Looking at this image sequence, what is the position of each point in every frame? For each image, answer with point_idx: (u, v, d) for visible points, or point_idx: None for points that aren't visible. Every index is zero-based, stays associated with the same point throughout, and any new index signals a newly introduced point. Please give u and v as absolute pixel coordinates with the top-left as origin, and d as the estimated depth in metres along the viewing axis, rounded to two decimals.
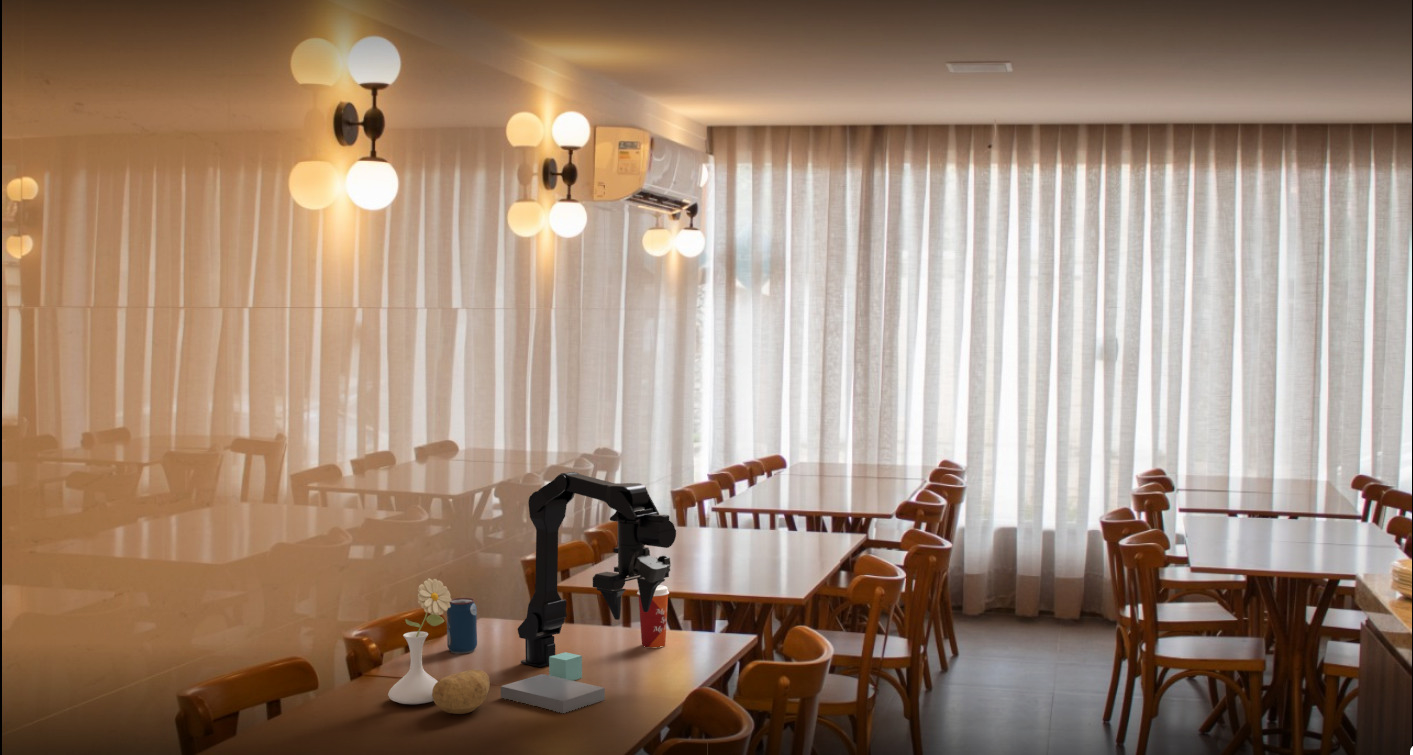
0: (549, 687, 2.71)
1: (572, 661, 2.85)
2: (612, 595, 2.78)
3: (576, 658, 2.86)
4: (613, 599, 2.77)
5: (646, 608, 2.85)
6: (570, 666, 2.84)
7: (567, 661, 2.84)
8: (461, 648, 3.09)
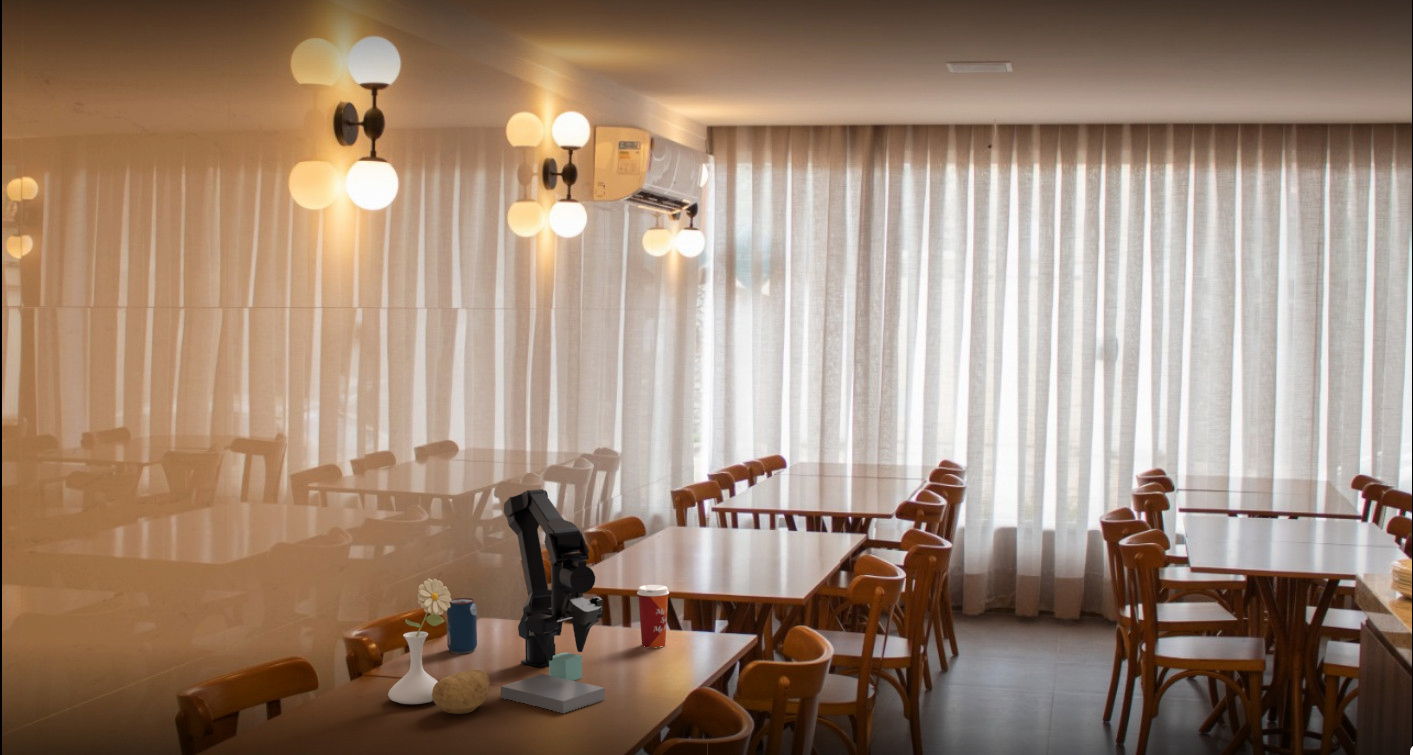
0: (549, 687, 2.71)
1: (572, 661, 2.85)
2: (545, 637, 2.82)
3: (576, 658, 2.86)
4: (546, 640, 2.82)
5: (580, 648, 2.90)
6: (570, 666, 2.84)
7: (567, 661, 2.84)
8: (461, 648, 3.09)
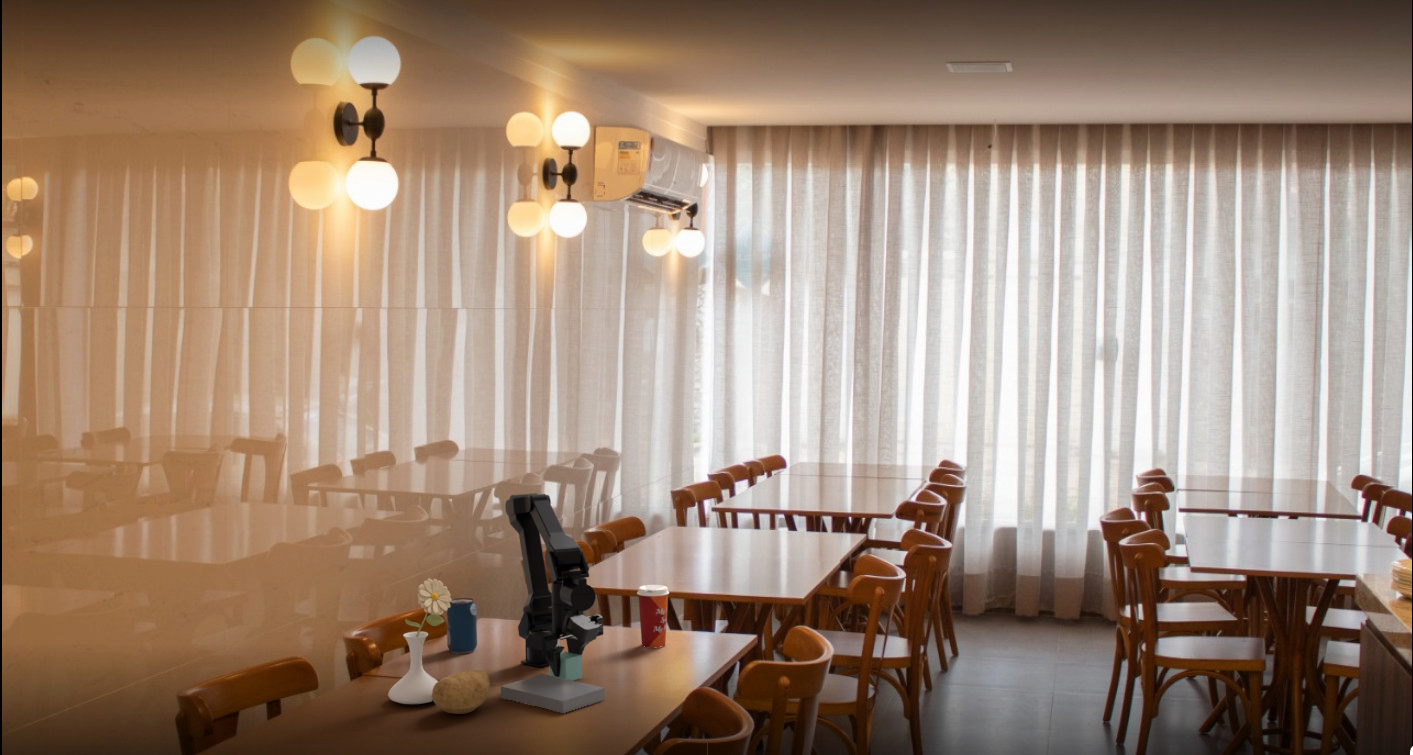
0: (549, 687, 2.71)
1: (572, 661, 2.85)
2: (552, 653, 2.84)
3: (576, 657, 2.86)
4: (553, 656, 2.84)
5: None
6: (570, 665, 2.84)
7: (567, 660, 2.84)
8: (461, 648, 3.09)
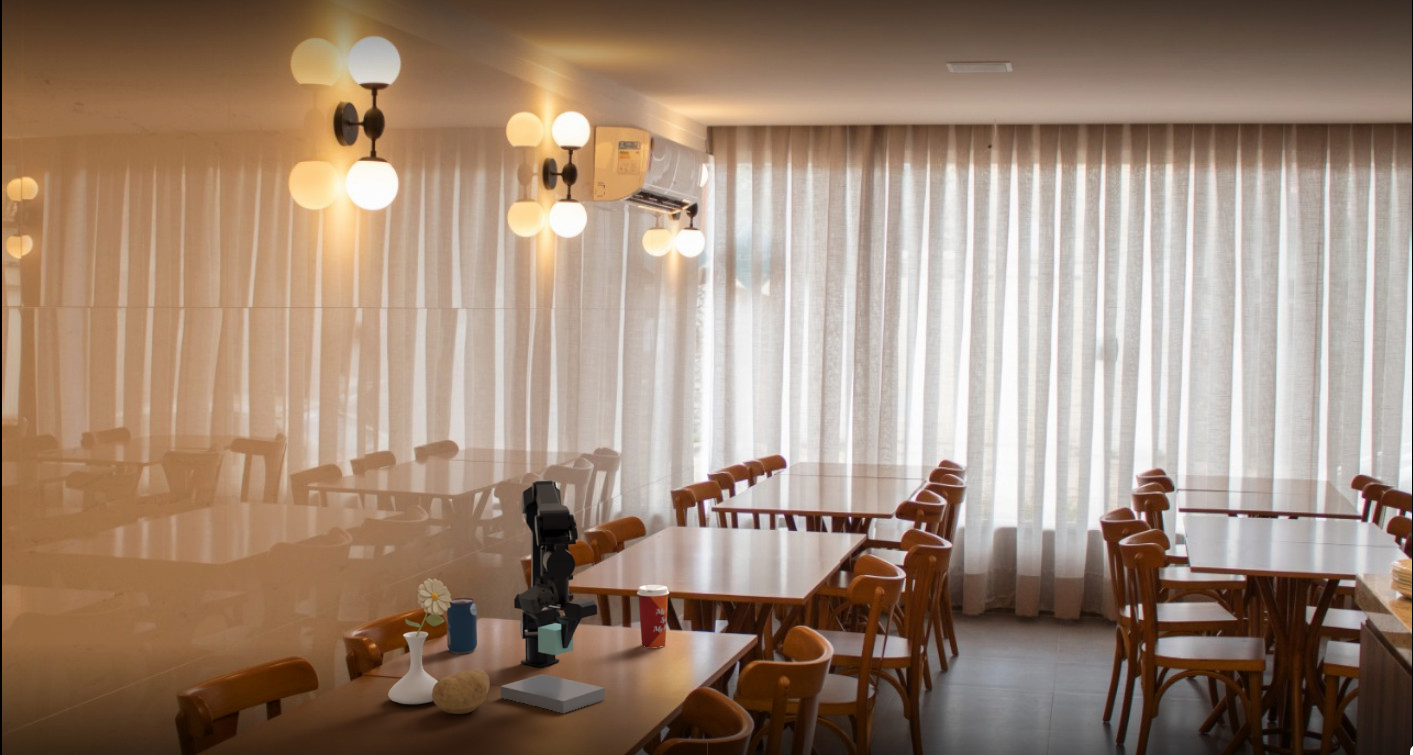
0: (549, 687, 2.71)
1: (545, 632, 2.68)
2: None
3: (549, 631, 2.67)
4: None
5: None
6: (543, 636, 2.69)
7: (539, 629, 2.69)
8: (461, 648, 3.09)
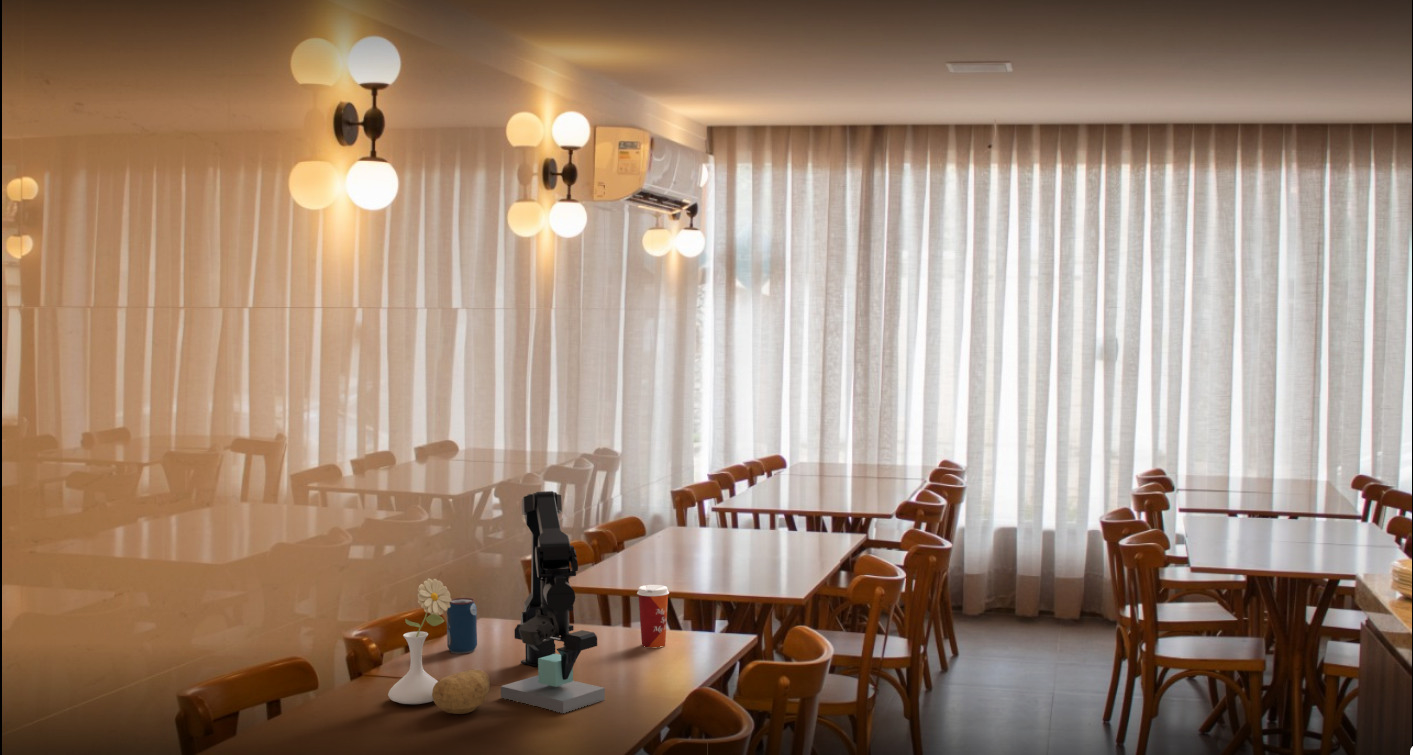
0: (549, 687, 2.71)
1: (545, 663, 2.68)
2: None
3: (549, 662, 2.68)
4: None
5: None
6: (543, 667, 2.69)
7: (539, 660, 2.69)
8: (461, 648, 3.09)
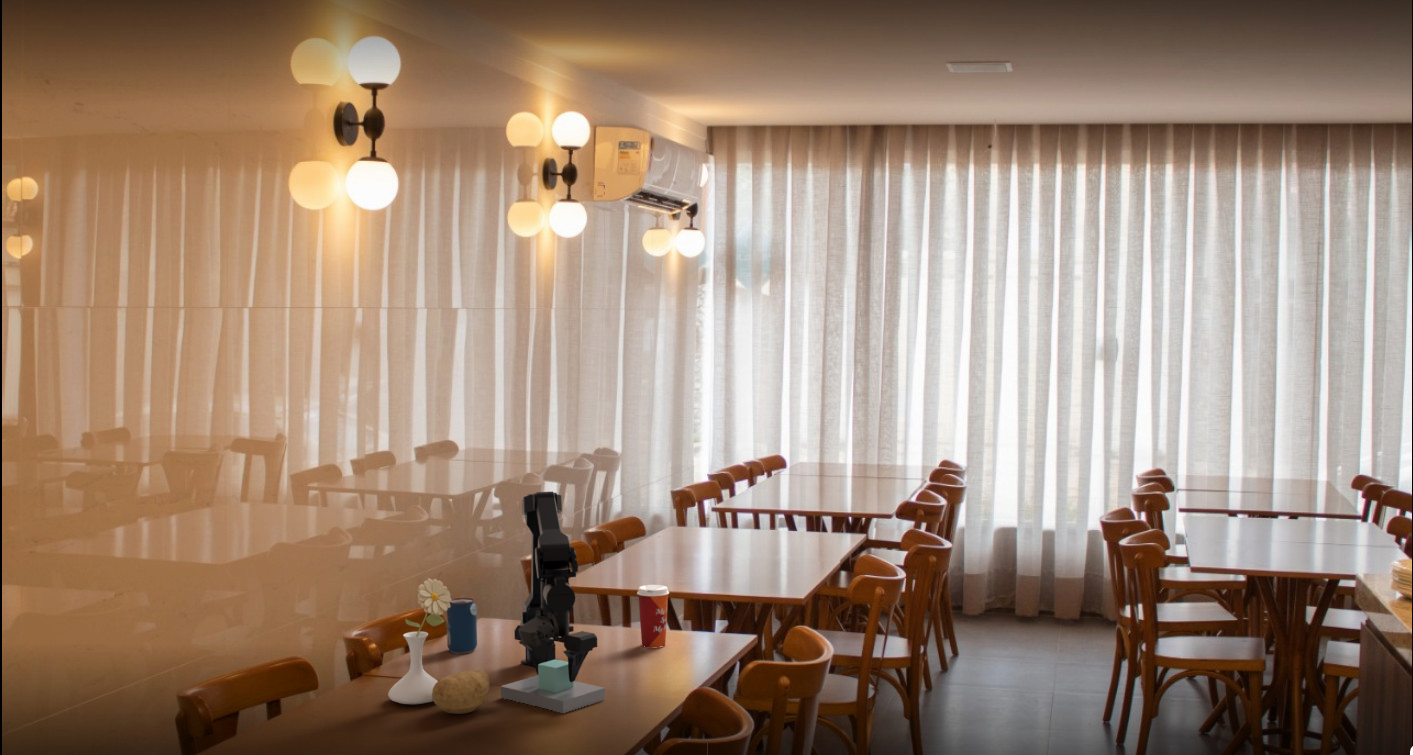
0: None
1: (545, 669, 2.68)
2: None
3: (549, 668, 2.68)
4: None
5: None
6: (543, 673, 2.69)
7: (540, 666, 2.69)
8: (461, 648, 3.09)
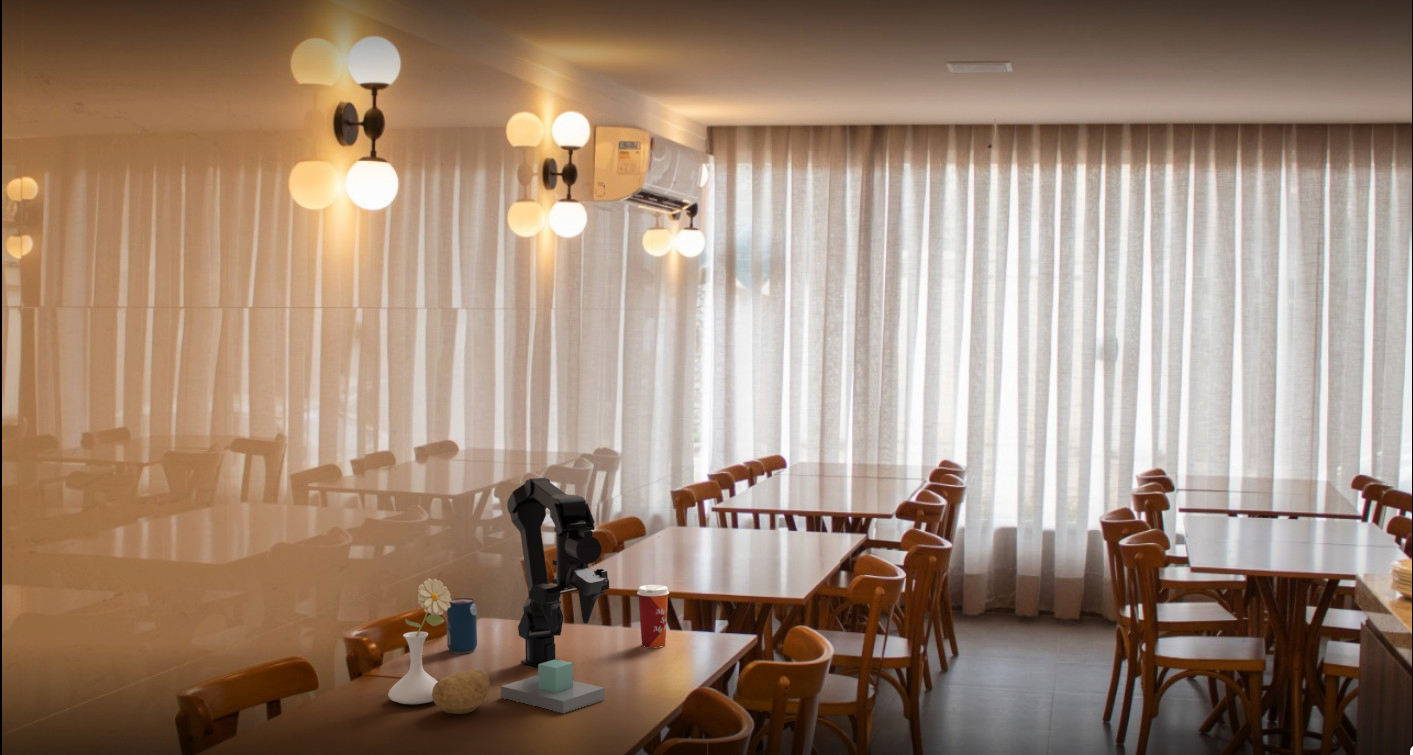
0: None
1: (545, 669, 2.68)
2: (548, 607, 2.80)
3: (549, 668, 2.68)
4: (549, 611, 2.80)
5: (586, 620, 2.87)
6: (543, 673, 2.69)
7: (540, 666, 2.69)
8: (461, 648, 3.09)
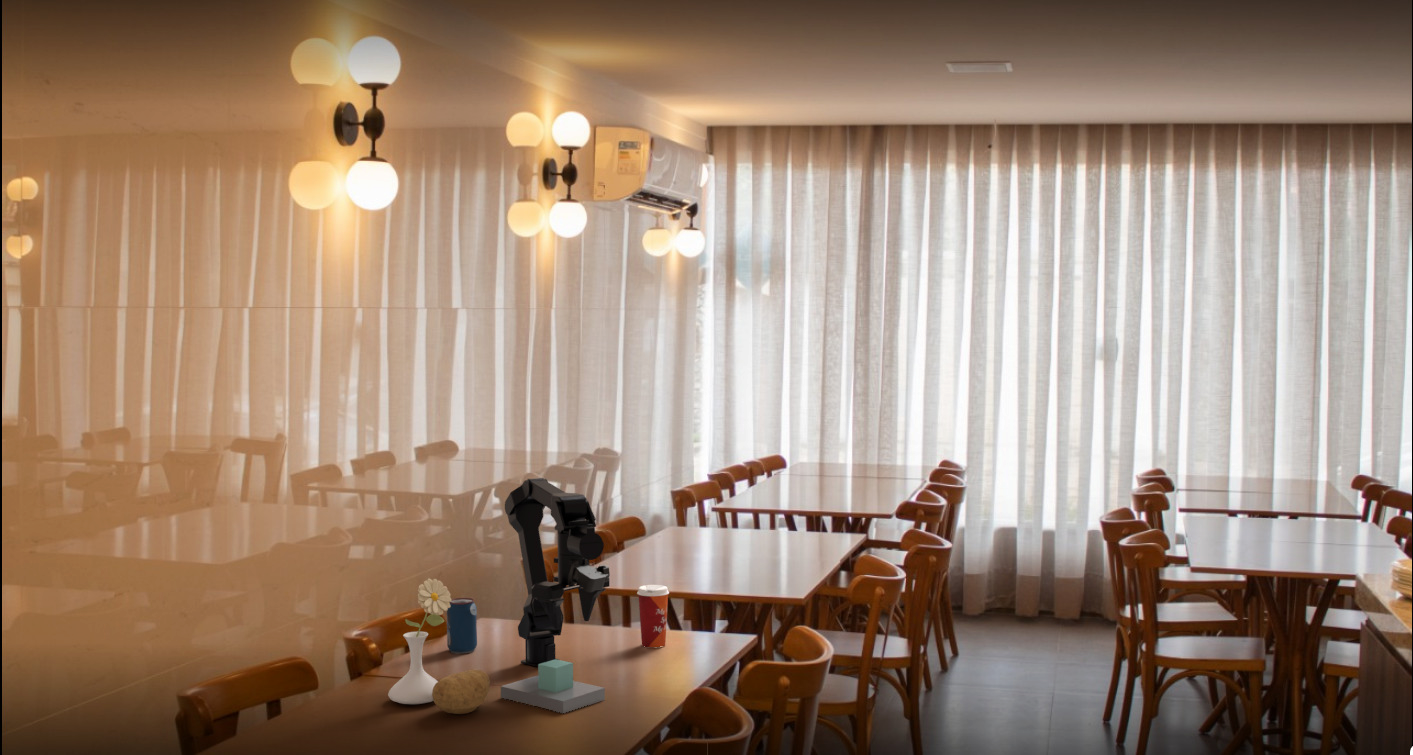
0: None
1: (545, 669, 2.68)
2: (551, 605, 2.81)
3: (549, 668, 2.68)
4: (552, 609, 2.80)
5: (587, 617, 2.88)
6: (543, 673, 2.69)
7: (540, 666, 2.69)
8: (461, 648, 3.09)
